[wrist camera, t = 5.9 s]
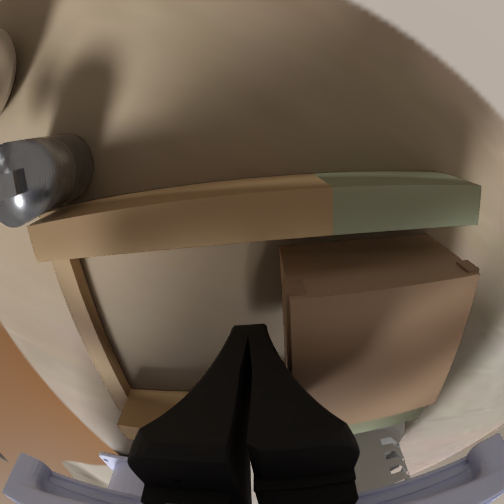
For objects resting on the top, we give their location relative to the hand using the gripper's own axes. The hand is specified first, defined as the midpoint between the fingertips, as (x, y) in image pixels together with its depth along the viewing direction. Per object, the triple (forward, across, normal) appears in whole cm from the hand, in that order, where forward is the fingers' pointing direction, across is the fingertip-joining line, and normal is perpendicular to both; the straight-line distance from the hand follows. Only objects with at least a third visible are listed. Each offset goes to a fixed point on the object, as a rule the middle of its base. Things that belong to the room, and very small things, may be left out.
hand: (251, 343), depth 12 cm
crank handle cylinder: (+2, +9, -8) cm, 12 cm away
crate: (+2, -5, 0) cm, 5 cm away
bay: (+2, 0, 0) cm, 2 cm away
